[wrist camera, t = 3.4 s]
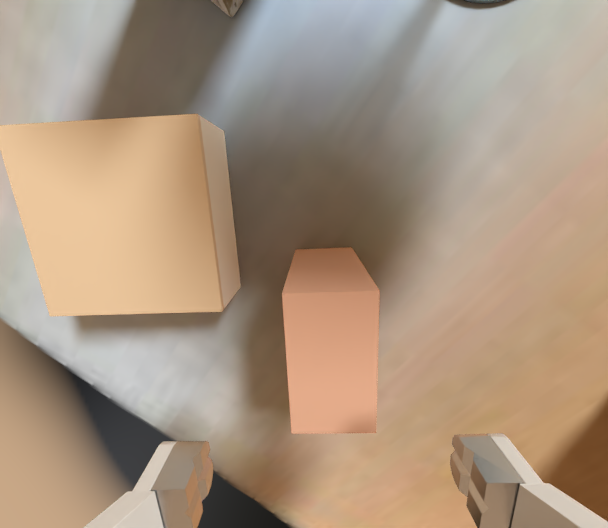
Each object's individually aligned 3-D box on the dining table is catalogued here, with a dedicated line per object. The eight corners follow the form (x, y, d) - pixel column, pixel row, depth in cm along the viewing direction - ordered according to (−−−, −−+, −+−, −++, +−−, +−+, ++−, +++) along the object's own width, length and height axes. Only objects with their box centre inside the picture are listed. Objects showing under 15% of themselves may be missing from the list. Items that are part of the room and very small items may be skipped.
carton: (351, 247, 23) (379, 290, 13) (351, 337, 25) (376, 432, 15) (295, 249, 23) (281, 293, 13) (300, 338, 25) (291, 433, 15)
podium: (224, 131, 21) (197, 113, 16) (240, 286, 24) (222, 311, 19) (66, 140, 21) (-7, 125, 16) (102, 290, 24) (49, 316, 19)
